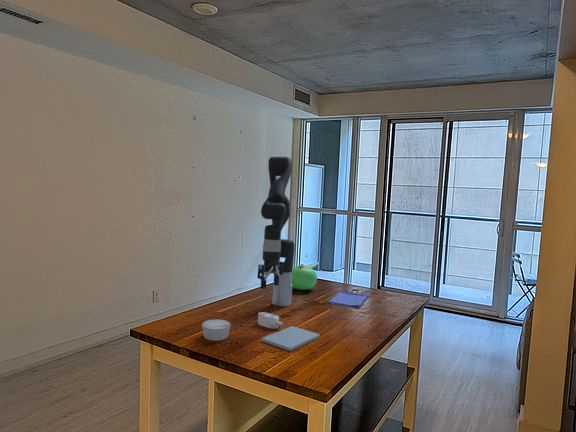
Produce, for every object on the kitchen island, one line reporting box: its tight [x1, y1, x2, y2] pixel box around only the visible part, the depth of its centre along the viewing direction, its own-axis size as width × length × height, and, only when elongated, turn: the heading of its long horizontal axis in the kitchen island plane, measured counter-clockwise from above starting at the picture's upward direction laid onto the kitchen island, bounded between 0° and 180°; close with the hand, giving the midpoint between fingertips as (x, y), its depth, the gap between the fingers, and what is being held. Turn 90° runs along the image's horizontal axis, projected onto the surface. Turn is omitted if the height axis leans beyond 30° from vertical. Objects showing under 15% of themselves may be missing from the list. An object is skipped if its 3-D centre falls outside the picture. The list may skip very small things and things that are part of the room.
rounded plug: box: [257, 311, 284, 330], centre depth 184 cm, size 4×13×4 cm, turn 53°
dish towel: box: [328, 290, 369, 309], centre depth 232 cm, size 17×24×3 cm
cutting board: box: [261, 325, 321, 352], centre depth 169 cm, size 20×14×1 cm
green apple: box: [292, 264, 318, 291], centre depth 250 cm, size 18×17×15 cm
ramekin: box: [201, 318, 231, 342], centre depth 168 cm, size 11×11×5 cm
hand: (269, 286), depth 183 cm, fingers open, 8 cm apart
